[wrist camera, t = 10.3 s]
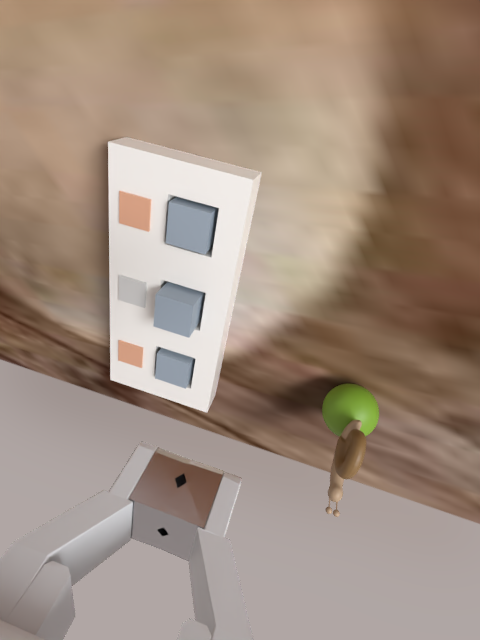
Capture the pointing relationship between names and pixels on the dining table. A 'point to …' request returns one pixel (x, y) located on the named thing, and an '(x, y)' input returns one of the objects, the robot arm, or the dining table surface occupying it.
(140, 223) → the button panel
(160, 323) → the middle button
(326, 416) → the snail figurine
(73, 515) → the robot arm
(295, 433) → the dining table surface
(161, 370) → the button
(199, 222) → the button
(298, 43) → the dining table surface
